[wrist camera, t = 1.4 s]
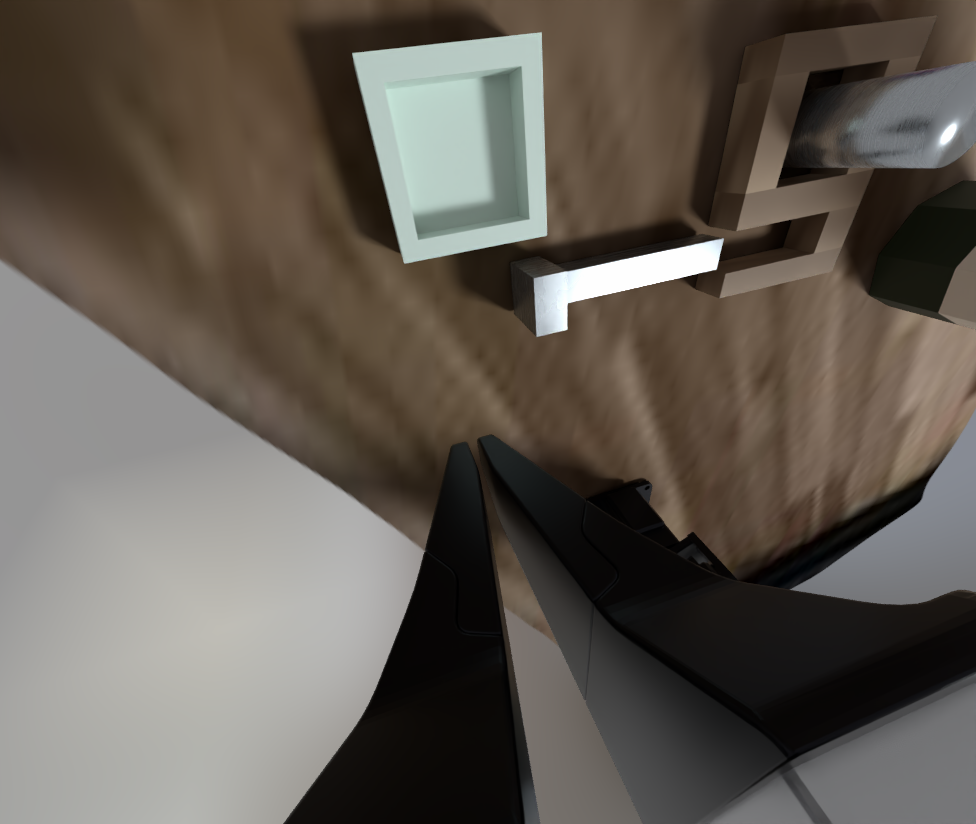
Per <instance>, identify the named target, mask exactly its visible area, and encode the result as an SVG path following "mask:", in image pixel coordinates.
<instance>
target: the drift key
mask: <svg viewBox="0 0 976 824" xmlns="http://www.w3.org/2000/svg"><path fill="white" fill-rule="evenodd" d="M723 240H724V238H719V237H714V236H710V235H705V234H699V235H694V236H690V237H685V238H680V239H675V240H670V241H666V242H661V243H656V244H651V245H647V246H642V247H637V248H632V249H627V250H623V251H618V252H613V253H608V254H603V255H599V256H594V257H589V258H584V259H580V260H575V261H570V262H565V263H560V264H556V265H555V264H553V263H551V262H549V261H547V260H545V259H544V258H542V257H540V256H536V257H532V258H527V259H522V260H517V261H512V262H510V270H511V282H512V294H513V305H514V314H515V315H516V316H517V317H518V318H519V319H520V320H521V321H522V322H523V323H524V325H525V326H526V327H527V328H528V329H529V330H530V331H531V332H532V333H533V334H534V335H535V336H536V337H538V336H542V335H547V334H551V333H555V332H559V331H564V330H567V303H570V302H574V301H578V300H583V299H587V298H592V297H596V296H601V295H605V294H609V293H614V292H618V291H623V290H627V289H632V288H636V287H640V286H645V285H649V284H654V283H658V282H662V281H667V280H671V279H676V278H680V277H685V276H689V275H693V274H698V273H702V272H707V271H711V270H715V269H717V265H718V261H719V257H720V253H721V248H722V244H723Z"/></svg>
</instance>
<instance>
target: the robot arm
mask: <svg viewBox="0 0 976 824" xmlns="http://www.w3.org/2000/svg"><path fill="white" fill-rule="evenodd" d="M477 444H478V449H479V455H480V460H481V465H482V468H483V471H484V475H485V478H486V481H487V484H488V487H489V490H490V493H491V496H492V499H493V502H494V505H495V508H496V512H497V514H498V517H499V520H500V522H501V524H502V527H503V529H504V531H505V533H506V535H507V537H508V539H509V541H510V544H511V546H512V548H513V550H514V552H515V554H516V556H517V558H518V560H519V563H520V565H521V567H522V569H523V571H524V573H525V575H526V577H527V580H528V582H529V584H530V586H531V588H532V590H533V592H534V594H535V596H536V599H537V601H538V603H539V605H540V607H541V609H542V611H543V613H544V615H545V618H546V620H547V622H548V624H549V626H550V628H551V630H552V632H553V635H554V637H555V639H556V641H557V643H558V645H559V647H560V649H561V651H562V654H563V656H564V658H565V660H566V662H567V664H568V666H569V668H570V670H571V672H572V675H573V677H574V679H575V681H576V683H577V685H578V687H579V690H580V692H581V694H582V696H583V698H584V700H586V705H587V707H588V709H589V711H590V713H591V715H592V717H593V719H594V721H595V724H596V726H597V728H598V730H599V732H600V734H601V736H602V738H603V740H604V743H605V745H606V747H607V749H608V751H609V753H610V755H611V757H612V759H613V762H614V764H615V766H616V768H617V770H618V772H619V774H620V776H621V778H622V781H623V783H624V785H625V787H626V789H627V791H628V793H629V795H630V797H631V800H632V802H633V803H634V806H635V808H636V810H637V812H638V814H639V816H640V819H641V821H642V823H643V824H976V592H972V591H967V590H957V591H953V592H950V593H947V594H944V595H942V596H939V597H937V598H934V599H932V600H930V601H927V602H923V603H918V604H906V605H891V604H877V603H869V602H861V601H855V600H849V599H843V598H837V597H831V596H824V595H817V594H812V593H806V592H799V591H793V590H787V589H781V588H775V587H769V586H763V585H756V584H750V583H744V582H739V581H738V580H737V579H736V578H735V577H734V576H733V574H732V573H731V572H730V571H729V570H728V569H727V568H726V567H725V566H724V565H723V564H722V562H721V561H720V560H719V559H718V558H717V557H716V556H715V555H714V554H713V553H712V552H711V551H710V550H709V548H708V547H707V546H706V545H705V544H704V543H703V542H702V541H701V540H700V539H699V538H698V537H697V536H696V534H695V533H694V532H691V533H690V534H688V535H687V536H688V537H686V538H685V539H683V540H682V541H680V542H679V540H678V539H677V538H676V537H675V536H674V534H673V533H672V532H671V531H670V530H669V528H668V527H667V526H666V525H665V524H664V521H663V520H662V519H661V518H660V516H659V515H658V514H657V513H656V512H655V510H654V509H653V508H652V507H651V505H650V504H649V500H650V495H651V490H652V484H651V483H650V482H649V481H643V482H640V483H637V484H634V485H631V486H627V487H624V488H621V489H618V490H615V491H611V492H608V493H605V494H602V495H599V496H595V497H592V498H589V499H587V500H586V499H585V498H583V497H582V496H580V495H579V494H578V493H576V492H575V491H573V490H572V489H570V488H569V487H567V486H566V485H565V484H563V483H562V482H560V481H559V480H557V479H556V478H554V477H553V476H552V475H550V474H549V473H547V472H546V471H544V470H543V469H541V468H540V467H539V466H537V465H536V464H534V463H533V462H531V461H530V460H528V459H527V458H526V457H524V456H523V455H521V454H520V453H518V452H517V451H516V450H514V449H513V448H511V447H510V446H508V445H507V444H505V443H504V442H503V441H501V440H500V439H498V438H497V437H495V436H494V435H487V436H483V437H480V438H478V439H477ZM425 551H426V552H424V555H423V559H422V562H421V566H420V570H419V574H418V577H417V581H416V584H415V587H414V591H413V593H412V596H411V599H410V602H409V604H408V608H407V610H406V613H405V615H404V619H403V621H402V623H401V626H400V628H399V631H398V633H397V636H396V638H395V641H394V644H393V646H392V649H391V652H390V654H389V656H388V659H387V662H386V664H385V667H384V669H383V672H382V675H381V677H380V679H379V682H378V684H377V687H376V689H375V691H374V694H373V696H372V698H371V700H370V702H369V704H368V706H367V708H366V710H365V712H364V713H363V715H362V717H361V718H360V720H359V721H358V723H357V725H356V726H355V727H354V729H353V730H352V732H351V733H350V734H349V736H348V737H347V739H346V740H345V741H344V743H343V744H342V745H341V747H340V748H339V749H338V751H337V752H336V754H335V755H334V756H333V757H332V759H331V760H330V762H329V763H328V764H327V765H326V767H325V768H324V769H323V771H322V772H321V773H320V775H319V776H318V778H317V779H316V780H315V782H314V783H313V784H312V786H311V787H310V788H309V790H308V791H307V792H306V794H305V795H304V796H303V798H302V799H301V800H300V802H299V803H298V805H297V806H296V807H295V809H294V810H293V811H292V813H291V814H290V815H289V817H288V818H287V819H286V821H285V822H284V823H283V824H540V819H539V813H538V808H537V802H536V795H535V789H534V784H533V777H532V772H531V766H530V760H529V754H528V748H527V742H526V736H525V731H524V725H523V719H522V713H521V707H520V702H519V695H518V689H517V683H516V678H515V672H514V666H513V661H512V654H511V648H510V642H509V636H508V631H507V625H506V619H505V613H504V607H503V601H502V595H501V589H500V583H499V578H498V572H497V566H496V560H495V554H494V548H493V542H492V536H491V531H490V526H489V520H488V515H487V510H486V505H485V500H484V495H483V490H482V485H481V480H480V475H479V471H478V468H477V465H476V463H475V460H474V458H473V455H472V453H471V450H470V448H469V446H468V443H467V442H461V443H458V444H454V445H452V446H451V448H450V452H449V456H448V460H447V464H446V468H445V472H444V476H443V480H442V484H441V488H440V492H439V496H438V500H437V504H436V508H435V512H434V516H433V520H432V524H431V528H430V532H429V535H428V539H427V543H426V547H425Z"/></svg>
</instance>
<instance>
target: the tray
mask: <svg viewBox="0 0 976 824" xmlns="http://www.w3.org/2000/svg"><path fill="white" fill-rule="evenodd" d="M352 55H353V62H354V68H355V72H356V76H357V80H358V84H359V88H360V92H361V96H362V100H363V104H364V108H365V112H366V116H367V120H368V124H369V128H370V132H371V136H372V140H373V144H374V148H375V152H376V156H377V160H378V164H379V168H380V172H381V176H382V180H383V184H384V188H385V192H386V196H387V200H388V204H389V208H390V212H391V216H392V220H393V224H394V228H395V232H396V236H397V240H398V244H399V248H400V252H401V256H402V258H403V261H404V264H405V263H410V262H415V261H420V260H425V259H430V258H435V257H441V256H446V255H451V254H456V253H461V252H466V251H471V250H476V249H481V248H487V247H492V246H497V245H502V244H507V243H512V242H517V241H522V240H527V239H532V238H538V237H543V236H547V215H546V178H545V141H544V105H543V68H542V32H541V33H532V34H523V35H514V36H505V37H495V38H486V39H477V40H468V41H459V42H450V43H441V44H432V45H423V46H414V47H404V48H395V49H386V50H377V51H368V52H359V53H352Z"/></svg>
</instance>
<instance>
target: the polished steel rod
mask: <svg viewBox="0 0 976 824" xmlns="http://www.w3.org/2000/svg"><path fill="white" fill-rule="evenodd" d="M975 142H976V61H973V62H967V63H961V64H955V65H950V66H944V67H938V68H932V69H926V70H920V71H915V72H909V73H903V74H897V75H891V76H885V77H880V78H874V79H868V80H862V81H856V82H850V83H845V84H839V85H833V86H827V87H821V88H816V89H810V90H804V93H803V97H802V100H801V104H800V107H799V111H798V114H797V118H796V121H795V124H794V128H793V131H792V135H791V138H790V142H789V145H788V149H787V152H786V155H785V159H784V162H783V166H782V167H786V168H941V167H944V166H946V165H949V164H950V163H952V162H954V161H955V160H957V159H958V158H959V157H961V156H962V155H963V154H964V153H965V152H966V151H967V150H969V149H970V148H971V147H972V146H973V144H974V143H975Z"/></svg>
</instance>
